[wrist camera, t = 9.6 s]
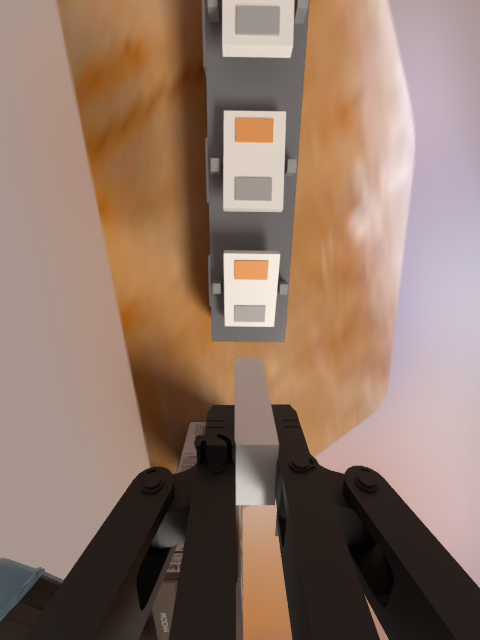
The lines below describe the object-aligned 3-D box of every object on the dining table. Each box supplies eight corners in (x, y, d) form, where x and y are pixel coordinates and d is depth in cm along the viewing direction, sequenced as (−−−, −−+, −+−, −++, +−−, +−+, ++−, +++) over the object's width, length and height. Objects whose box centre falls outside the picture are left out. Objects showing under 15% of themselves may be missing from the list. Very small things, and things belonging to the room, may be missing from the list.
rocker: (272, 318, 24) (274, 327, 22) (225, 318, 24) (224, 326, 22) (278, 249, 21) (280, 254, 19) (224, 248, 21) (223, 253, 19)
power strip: (277, 322, 29) (287, 348, 23) (213, 322, 29) (206, 347, 23) (298, -26, 20) (323, -130, 14) (207, -28, 20) (193, -132, 14)
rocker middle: (280, 214, 20) (283, 208, 18) (224, 213, 20) (223, 207, 18) (283, 123, 19) (286, 110, 18) (224, 122, 19) (223, 109, 18)
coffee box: (242, 477, 36) (244, 662, 21) (192, 478, 36) (158, 663, 21) (241, 419, 33) (242, 586, 18) (187, 420, 33) (142, 587, 18)
